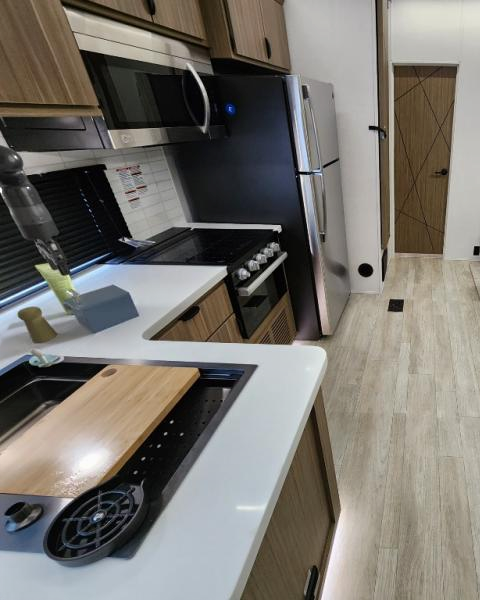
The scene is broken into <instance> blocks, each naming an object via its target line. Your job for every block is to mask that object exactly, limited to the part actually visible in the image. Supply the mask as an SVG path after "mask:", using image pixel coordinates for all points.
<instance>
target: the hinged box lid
mask: <svg viewBox="0 0 480 600" xmlns="http://www.w3.org/2000/svg"><path fill="white" fill-rule="evenodd" d="M66 293H67V294H69V295H70V296H71V297H72V298H68V299H65V300H63V301H64V303H66V304H67V305H69V306H71V307H72V308H74V309H75V310H77V311H78V312H80V311H83V310H85V309H88V308H91V307H94V306H97V305H100V304H103V303H106V302H109V301H112V300H115V299H117V298H120V297H123V296H126V295H129V294H130V295H131V293H130V291H128V290H126V289H123V288H121V287H119V286H117V285H115V284H110V285H107V286H103V287H101V288H97V289H95V290H91V291H88V292H84V293H82V294H80V293H79V292H77V291H76V290H75V291H74V290H72V289H68V290H67V291H66Z"/></svg>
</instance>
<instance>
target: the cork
mask: <svg viewBox="0 0 480 600" xmlns="http://www.w3.org/2000/svg"><path fill="white" fill-rule="evenodd" d="M17 318H18V319H20V320H21V321H23V322H24V324H25V327H26V330H27V333H28V335H29V337H30V340H31V342H32V343H33V344H41V343H45V342H48V341H51V340H53V339H55V338H57V336H58V332H56V330H55V329H54V328H53V327H52V325H51V324H50V323H49V322H48V321H47V319H46V318H45V317H44V316H43V311H42V309H41V308H40V307H38V306H28V307H24V308H22V309H20V310H18V311H17Z"/></svg>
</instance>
